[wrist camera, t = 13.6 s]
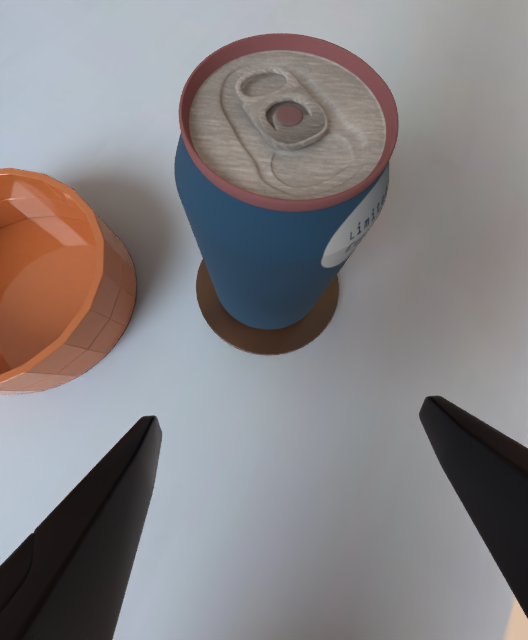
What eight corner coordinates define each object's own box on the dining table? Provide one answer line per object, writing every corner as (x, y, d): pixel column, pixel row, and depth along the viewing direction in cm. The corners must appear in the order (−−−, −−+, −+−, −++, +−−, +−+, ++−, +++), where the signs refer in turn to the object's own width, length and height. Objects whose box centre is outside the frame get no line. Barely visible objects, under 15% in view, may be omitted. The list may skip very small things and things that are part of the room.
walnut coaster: (365, 289, 19) (367, 287, 19) (265, 387, 17) (265, 387, 17) (269, 201, 21) (270, 197, 20) (167, 281, 19) (166, 279, 18)
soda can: (335, 302, 18) (478, 152, 7) (248, 353, 17) (238, 278, 6) (283, 226, 20) (325, -10, 8) (199, 268, 19) (108, 65, 7)
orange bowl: (174, 300, 18) (152, 275, 14) (2, 440, 16) (-85, 458, 12) (68, 184, 20) (22, 133, 16) (-99, 290, 18) (-204, 261, 14)
